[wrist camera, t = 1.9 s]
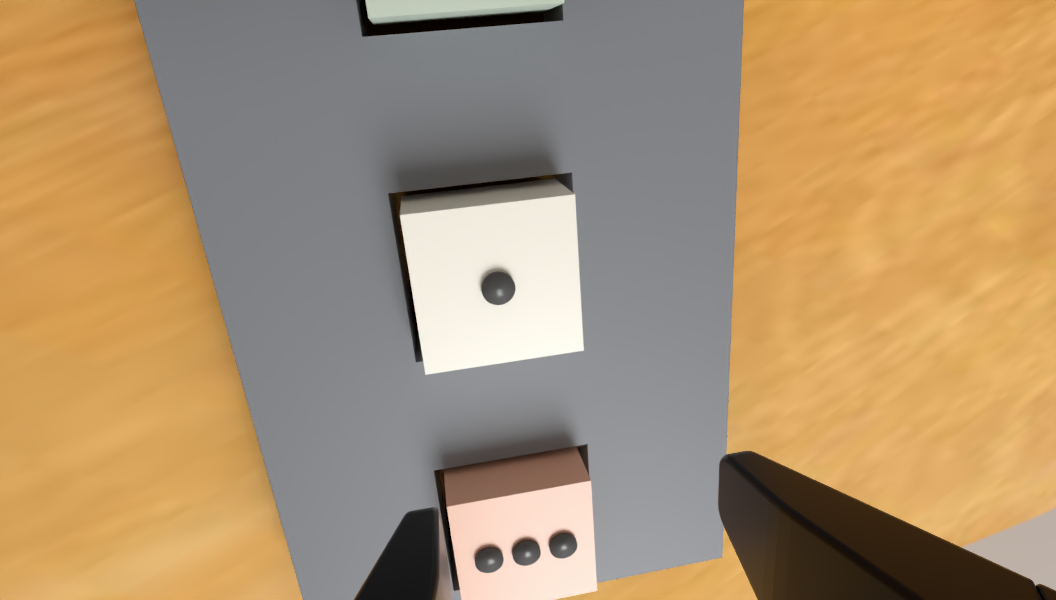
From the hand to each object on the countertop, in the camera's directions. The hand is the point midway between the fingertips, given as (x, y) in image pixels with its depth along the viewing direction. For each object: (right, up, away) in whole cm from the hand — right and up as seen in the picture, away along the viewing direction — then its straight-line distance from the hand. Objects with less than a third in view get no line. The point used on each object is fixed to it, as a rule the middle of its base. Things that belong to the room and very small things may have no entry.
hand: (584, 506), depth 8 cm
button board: (-2, +5, +12) cm, 13 cm away
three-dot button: (-1, -4, +14) cm, 15 cm away
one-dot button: (-2, +4, +11) cm, 12 cm away
